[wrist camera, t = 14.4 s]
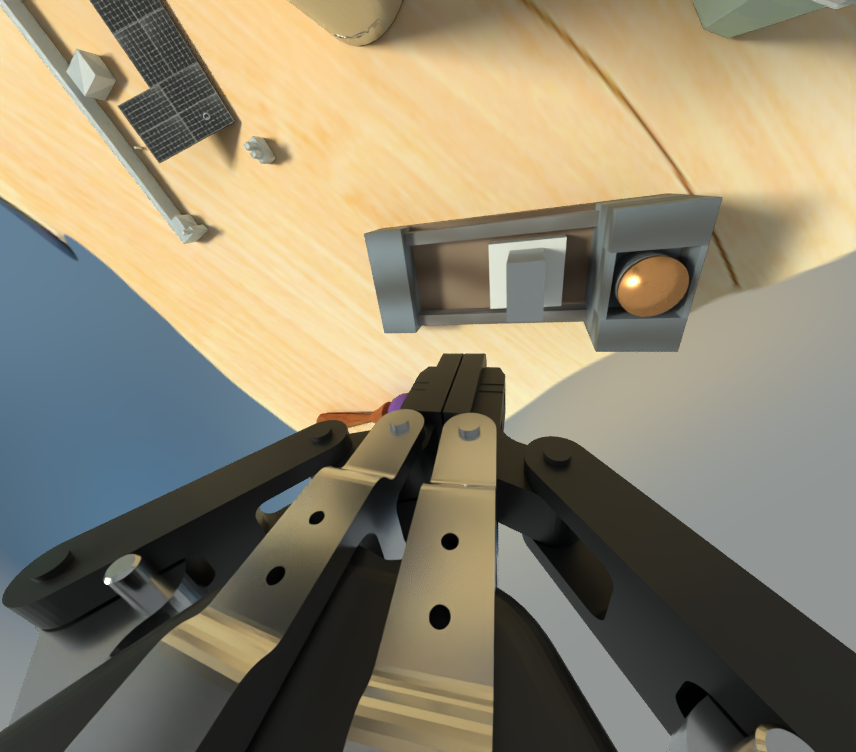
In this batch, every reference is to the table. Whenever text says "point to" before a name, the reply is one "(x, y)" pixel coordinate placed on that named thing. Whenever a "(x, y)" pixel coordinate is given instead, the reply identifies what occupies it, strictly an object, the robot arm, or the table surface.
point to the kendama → (365, 418)
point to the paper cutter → (154, 108)
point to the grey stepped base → (583, 271)
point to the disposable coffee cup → (755, 13)
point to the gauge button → (649, 282)
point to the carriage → (526, 276)
